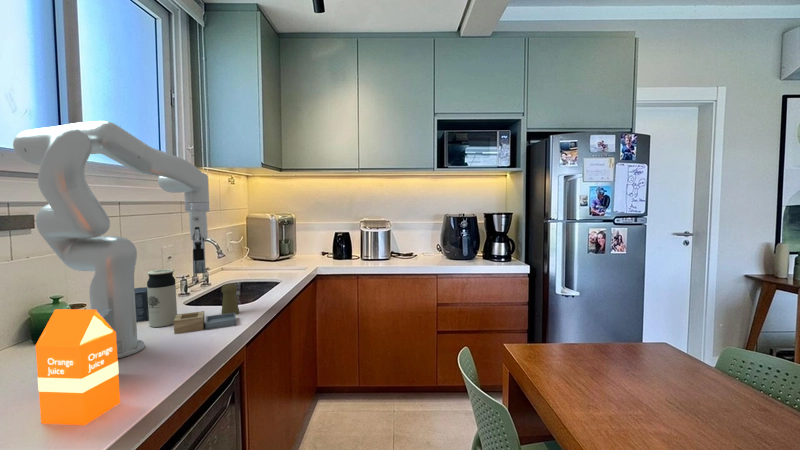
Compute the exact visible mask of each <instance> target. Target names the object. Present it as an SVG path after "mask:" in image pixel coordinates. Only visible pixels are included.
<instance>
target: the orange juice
mask: <svg viewBox="0 0 800 450" xmlns="http://www.w3.org/2000/svg"><path fill="white" fill-rule="evenodd" d="M34 347H35V354H36V356H35V357H36V368H37V371H36V372H37V388H38V389H37V390H38V397H39V411H40V423H41V424H45V425H72V426H73V425H74V426H86V425H88V424H89V423H91V422H92V421H93V420H95V419H97V418H99V417H101V416H102V415H103V414H105V413H107V412H109V411H110V410H111V409H113V408H114V407H116V406H118V405H119V404H121V395H120V393H121V392H120V377H119V373H120V372H119V371H120V369H119V358H117V342H116V332H115V331H114V330H113V329H112V328H111V327H110V326H109V324H108V323H107V322H106V321H105V320H104V319H103V318H102V317H101V315H100V314H99V313H98V312H97V311H96V310H91V309H71V308H70V309H69V308H68V309H67V308H65V309H64V308H62V309H60V308H59V309H55V308H54V311H53V313H52V315H51V316H50V318H49V320H48V321H47V323H46V326H45V328H43V331H42V333H41V335H40V336H39V338H38V340H37V342H36V343H35V346H34Z"/></svg>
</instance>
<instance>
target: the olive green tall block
mask: <svg viewBox="0 0 800 450" xmlns="http://www.w3.org/2000/svg"><path fill="white" fill-rule="evenodd" d="M220 291H221V293H222V303H221V304H222V305H221V313H220V314H228V313H235V314H237V315H238V313H239V314H240V310H239V304H238V299H237V298H238V297H237V294H236V293H237V291H238V287H237V284H235V283H225V284H223V285H222V286H221V290H220Z"/></svg>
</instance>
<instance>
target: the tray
mask: <svg viewBox="0 0 800 450" xmlns="http://www.w3.org/2000/svg"><path fill="white" fill-rule="evenodd" d="M234 326H235V327H236V326H237V318H236V315H235V313H228V314H221V313H220V314H214V315H206V316H205V324H204V330H205V331H206V330H207V331H208V330H213V329H221V328H228V327H234Z"/></svg>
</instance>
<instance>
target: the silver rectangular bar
mask: <svg viewBox="0 0 800 450" xmlns="http://www.w3.org/2000/svg"><path fill="white" fill-rule="evenodd" d="M200 240H201V238H200ZM205 241H206V240H205V238H203V249H204V260H200V261H194V260H193V271H194V272H193V274H196V275H199V274H205V273H207V271H206V270H207V269H206V249H205V248H206V245H205V244H206V243H205ZM193 249H194V239H193V240H192V250H193Z"/></svg>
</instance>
